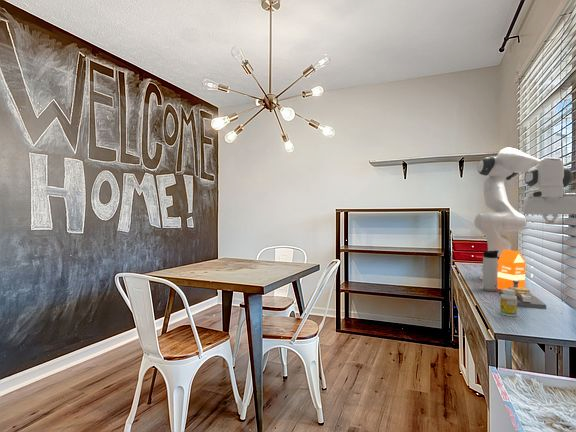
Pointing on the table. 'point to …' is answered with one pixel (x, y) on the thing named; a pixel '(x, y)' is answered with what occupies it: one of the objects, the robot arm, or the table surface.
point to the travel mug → (490, 270)
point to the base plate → (534, 302)
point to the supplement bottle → (508, 303)
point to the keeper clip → (519, 289)
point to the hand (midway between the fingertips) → (549, 224)
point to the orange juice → (511, 269)
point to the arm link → (521, 293)
